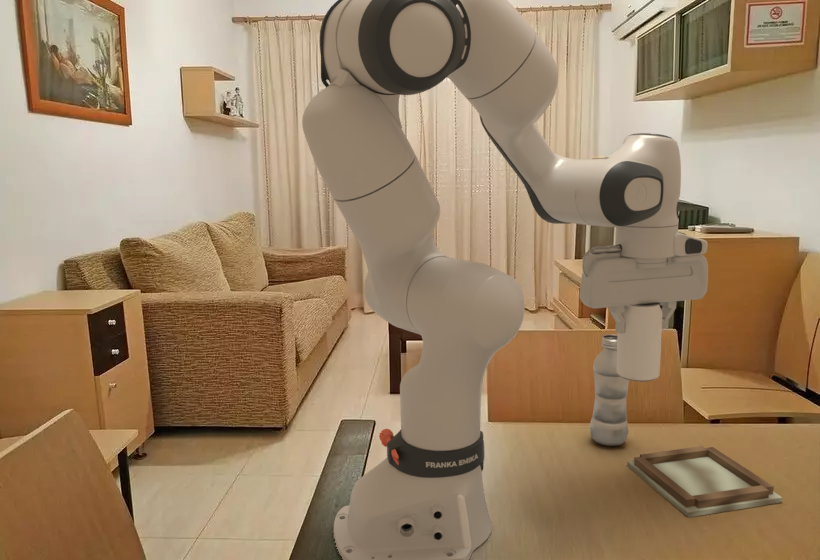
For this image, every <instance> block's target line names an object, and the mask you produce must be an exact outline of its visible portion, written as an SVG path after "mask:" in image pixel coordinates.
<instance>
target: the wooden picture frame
mask: <svg viewBox="0 0 820 560" xmlns="http://www.w3.org/2000/svg"><path fill="white" fill-rule="evenodd" d="M626 467H628V468H629V469H631V471H633V472H634V473H635V474H636V475H637V476H639V477H640V479H642V480H643V481H645V482H646V483H647V484H648V485H649V486H650V487H651V488H653V490H655V491H656V492H658V493H659V494H660V495H661V496H662V497H663V498H665V499H666V500H667V501H668V502H669V503H670V504H671V505H673V506H674V507H675V508H676V509H677V510H679V511H680V512H681V513H682V514H683V515H684V516H685V517H687V518H693V517H701V516H706V515H713V514H718V513H723V512H730V511H737V510H743V509H750V508H755V507H761V506H768V505H775V504H780V503H781V504H782V503H783V497H782V496H781V495H780V494H778V493H776V492H775V491H774V489H775V487H774V485H772V484H771V483H769V482H768V481H766V480H765V479H763V478H761V477H760V476H758V475H757V474H755V473H754V472H752V471H751V470H750V469H748V468H746V467H744V465H742V464H740V463H738V462H737V461H735V460H733V459H732V458H731V457H729V456H727V455H726V454H725V453H723V452H721V451H719V450H718V449H717V448H715V447H714V446H709V447H705V446H702V445H700V446H695V447H694V446H693V447H692V446H691V447H686V448H678V449H670V450H664V451H654V452H649V453H641V454H639V456H636V457H635V456H634V457H633V460H627V461H626Z"/></svg>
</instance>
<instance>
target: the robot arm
mask: <svg viewBox="0 0 820 560" xmlns="http://www.w3.org/2000/svg"><path fill="white" fill-rule="evenodd" d="M318 42H319V52H320V80H321V83H322V84H323V86H325V87H324V88H323V89H321V91H319V92H318V93H317V94H316V95H314V96H313V97H312V99H311V100H310V101H309V102H308V104H307V105H306V107H305V109H304V111H303V115H302V122H301V123H302V131H303V134H304V137H305V139H306V143H307V146H308V149H309V151H310V153H311V155H312V158H313V161H314V162H315V165H316V168H317V170H318V172H319V174H320V176H321V178H322V181H323V182H324V184H325V186H326V188H327V190H328V192H329V193H330V195H331V197H332V199H333V200H334V202H335V203H336V205H337V207H338V209H339V211H340V212H341V214H342V216H343V218H344V220H345V221H346V223H347V225H348V227H349V228H350V230H351V232H352V234H353V236H354V237H355V239H356V240H357V242H358V245H359V246H360V249H361V251H362V252H361V253H362V254H363V257H364V261H365V263H366V267H367V273H366V276H365V279H364V285H363V286H364V297H365V300H366V302H367V305H368V307H369V308H370V309H371V311H372V312H374V313H375V314H376V315H377V316H379V317H380V318H382V319H383V320H384V321H386V322H387V323H389V324H390V325H392V326H394V327H396V328H399V329H401V330H405V331H408V332H411V333H414V334H417V335H419V336H421V339H422V351H421V356H420V358H419V362H418V363H417V364H416V365H414V366H413V367H411V368H410V369H408V370H407V371H406V373H404V375H403V376H402V378H401V380H400V383H399V394H400V395H399V399H400V401H399V402H400V407H399V409H400V430H399V431H398V432H396V434H395V435H394V433H393V431H392V430H391V429H390V428H384V429H382V430H381V431H380V432H379V440H380V442H381V445H382V446H384V447H386V458H385V459H384V460H382V461H381V462H380V463H378V464H377V465H376V466H374V467H373V468H372V469H370V470H369V471H368V472H367V473H365V474H364V475H362V476H361V477H359V478H358V479H357V480H356V481H355V483H354V486H353V488H352V489H351V494H350V498H349V504H348V505H344V506H342V507H341V508H340V509H339V511H337V513H336V515H335V518H334V521H333V533H334V534H333V540H334V539H335V541H334V544H335V543H336V545H335V548H336V547H337V548H336V550H337V549H338V551H339V553H340V555H341V556H342V558H341V560H470V558H471V557H472V555H473V552H474V551H475V550H476V549H477V548H479V547H480V546H482V544H484V542H486V541H487V539H488V538H489V537H490V535H491V532H492V529H493V523H492V520H491V517H490V514H489V509H488V505H487V502H486V495H485V489H484V482H483V474H482V473H483V470H484V463H485V441H484V440H485V439H484V432H483V431H482V430H481V419H482V418H481V413H482V411H481V409H482V391H483V390H482V389H483V382H484V378H485V374H486V370H487V368H488V365H489V363H491V360H492V359H493V357H494V356H495V354H496V353H497V352H498V351H499V350H501V349H502V348H504V347H506V346H507V345H508V344H509V343H511V341H512V340H513V339H514V338H515V337H516V335H517V334H518V332H519V330H520V328H521V327H522V324H523V321H524V317H525V310H526V309H525V306H526V304H525V296H524V294H523V290H522V287H521V286H520V283H519V282H518V281H517V280H516V279H515V278H514V277H513V276H512V275H510V274H507V273H505V272H504V271H501V270H500V269H497V268H495V267H493V266H490V265H488V264H486V263H483V262H477V261H473V260H472V261H471V260H466V259H461V258H455V257H449V256H447V255H445V254H444V253H443V252H441V251H440V249H439V248H438V247H437V245H436V242H435V240H434V236H433V232H434V230H435V228H436V227H437V225H438V222H439V219H440V215H441V206H440V203H439V200H438V198H437V196H436V194H435V192H434V190H433V188H432V185H431V183H430V181H429V179H428V177H427V175H426V173H425V171H424V170H423V169H424V168H423V167H422V164H421V163H420V161H419V159H418V157H417V155H416V153H415V151H414V149H413V147H412V145H411V143H410V141H409V139H408V138H407V136H406V134H405V132H404V131H403V126H402V122H401V117H400V110H399V109H400V107H399V105H400V101H399V100H400V96H412V95H418V94H421V93H423V92H426V91H429V90H431V89H433V88H434V87H436V86H437V85H439V84H440V83H442V82H443V81H445V80H446V78H447V79H449V80H450V81H451V82H452V84H453V85H454V86H455V87H456V88H457V89H458V90H459V92H460V93H461V94H462V95H463V96H464V98H465V99H466V100H467V101H468V102H469V103H470V105H472V107H473V108H474V109H475V110H476V112H477V114H478V115H479V119H480V123H481V125H482V127H483V129H484V131H485V132H486V134H487V136H488V137H489V139H490V140H491V142H492V143H493V145H494V146H495V147H496V149H497V150H498V151H499V153H500V154H501V155H502V157H503V159H505V161H506V162H507V164H508V165H509V166H510V167H511V169H512V170H513V172H514V173H515V174H516V176H517V177H518V178H519V179H520V181H521V183H522V185H523V186H524V188H525V189H526V190H525V191H526V192H527V196H528V197H529V200H530V203H531V204H532V207H533V209H534V211H535V212H536V214H537V215H538V216H539V217H540V218H541V219H542V220H544V221H545V222H547V223H550V224H553V225H554V224H557V225H558V224H559V225H560V224H563V225H564V224H566V225H567V224H568V225H569V224H570V225H571V224H573V225H574V224H576V225H586V226H592V227H593V226H594V227H595V226H596V227H605V228H606V227H607V228H615V240H614V241H615V244H613V245H610V244H609V245H605V246H600V245H598V246H593V247H591V249H589V250H587V251H586V252H585V254H583V256H582V267H581V268H582V275H581V280H580V286H579V287H580V288H579V300H580V301H581V303H583V305H584V306H586V307H588V308H591V309H594V310H595V309H605V308H608V310H609V313H610V315H611V316H612V318H613V320H614V322H615V324H614V325H615V326H614V327H615V328H614V329H615V333H617V334H618V333H619V334H623V333H625V329H626V323H625V320H624V318H623V316H622V314H621V313H624V311H625V306H629V305H640V304H651V303H660V304H659V305H660V307H661V306H662V308H661V310H662V331H663V330H667V329H669V320H670V318H671V317H672V316H673V314H674V312H675V310H676V309H677V302H684V301H693V300H702V299H703V298H704V297H705V296H706V293H707V292H708V286H709V264H708V260H707V258H706V257H705V256H704V255H705V254H706V253H707V251H708V245H709V243H708V241H707V240H705V239H702V238H699V237H695V236H691V235H688V234H687V233H684V232H681V231H679V218H678V214H677V206H678V202H679V199H680V197H681V185H682V181H681V180H682V168H681V167H682V165H681V163H682V162H681V154H680V149H679V145H678V144H679V143H678V142H677V140H675V139H674V138H673V137H671V136H668V135H664V134H658V133H649V132H648V133H647V132H646V133H645V132H643V133H642V132H641V133H639V132H638V133H632V134H629V135H626V137H624V139H623V143H622V144H621V146H620V147H619V148H618V149H617V150H615V151H614V152H612V153H610V154H609V155H605V156H604V158H586V159H585V158H582V159H581V158H577V159H576V158H569V157H566V156H562V155H560V154H557V153H556V152H554V151H553V149H552V148H551V147H550V145H549V144H548V142H547V141H546V139H545V137H544V136H543V135H542V133H541V132H540V130H539V129H538V127H537V126H536V122H537V121H538V120H540V119H541V117H542V116H543V114H544V113H545V112H546V111H547V109H548V108H549V106H550V105H551V103H552V101H553V99H554V97H555V95H556V91H557V89H558V88H557V87H558V82H559V68H558V66H557V63H556V60H555V58H554V57H553V54H552V52H551V51H550V49H549V48H548V46H547V45H546V43H545V42H544V41H543V39H542V38H541V37H540V36H539V35H538V33H537V32H536V31H535V29H534V28H533V27H532V26H531V24H530V23H529V22H528V20H526V18H525V17H524V16H523V15H522V14H521V13H520V12H519V10H518V9H517V8H515V7H514V6H513V5H512V4H511V2H510V1H508V0H337V1H335V2H334V3H333V4H332V5H331V6H330V7H329V9H328V10H327V12H326V13H325V15H324V17H323V19H322V22H321V24H320V29H319V40H318ZM328 82H329V83H328ZM338 551H337V552H338ZM339 553H338V554H339ZM340 555H339V556H340Z"/></svg>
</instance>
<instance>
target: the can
mask: <svg viewBox="0 0 820 560" xmlns="http://www.w3.org/2000/svg"><path fill="white" fill-rule="evenodd" d="M661 309H662V308H661V305H660V303H651V304H640V305H629V306H625V311H624V313H621V314H622V316H623V318H624V320H625V323H626V329H625V333H623V334H619V333H617V335H618V337H617V373H618V375H619V376H620V377H622V378H624V379H627V380H629V381H632V382H643V383H644V382H652V381H655V380H657V379H658V378H659V376H660V374H661V373H660V371H661V356H662V334H663V330H662V310H661Z"/></svg>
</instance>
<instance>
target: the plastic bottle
mask: <svg viewBox="0 0 820 560" xmlns="http://www.w3.org/2000/svg"><path fill="white" fill-rule="evenodd" d="M617 337H618V334H604V335H602V338H601V345H600V346H601V348H602V350H601V351H600V352H599V353H598V355H597V356H596V357H595V359H594V361H593V363H592V364H593V366H592V369H593V377H594V393H595V394H594V401H593V402H594V404H593V409H592V410H593V412H592V416H591V418H590V424H589V431H590V437H591V439H593V441H594V442H595V443H597V444H600V445H603V446H608V447H615V446H616V447H617V446H620V445H622V444H624V442H625V441H626V440H627V438H628V434H629V424H628V419H627V418H628V416H627V399H628V397H627V395H628V390H629V384H630V380H627V379H624V378H622V377H620V376H619V375H618V373H617Z"/></svg>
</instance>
